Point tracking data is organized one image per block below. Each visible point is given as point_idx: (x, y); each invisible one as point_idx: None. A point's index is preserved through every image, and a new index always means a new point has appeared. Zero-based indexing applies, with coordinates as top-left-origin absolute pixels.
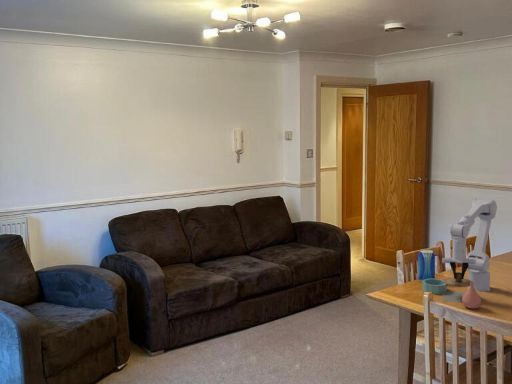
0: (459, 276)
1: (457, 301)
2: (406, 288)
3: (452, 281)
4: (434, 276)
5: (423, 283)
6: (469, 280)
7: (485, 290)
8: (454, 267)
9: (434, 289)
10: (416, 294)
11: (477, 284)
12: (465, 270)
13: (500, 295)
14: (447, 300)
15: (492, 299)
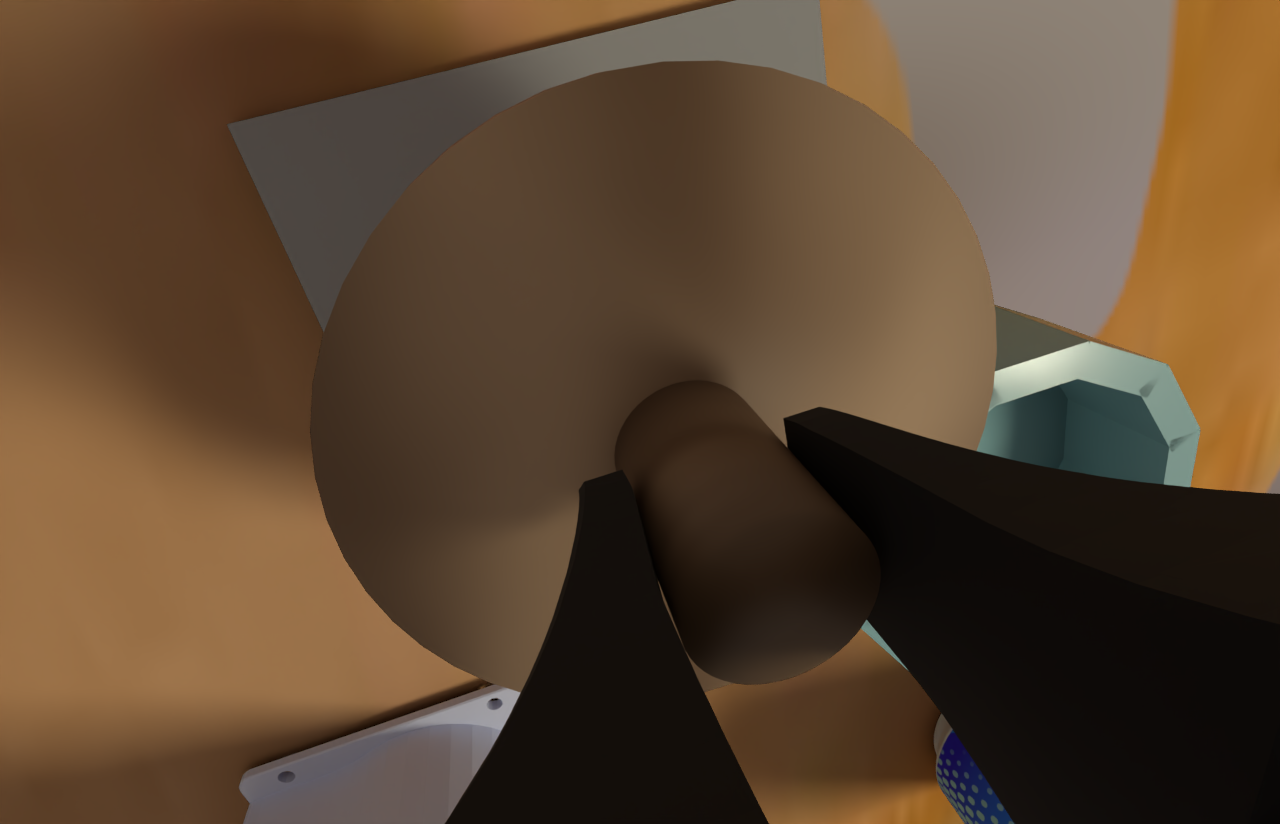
0: (715, 470)
1: (585, 69)
2: (1240, 390)
3: (828, 367)
4: (971, 788)
5: (1182, 410)
6: (453, 644)
7: (298, 763)
8: (1238, 558)
9: (997, 331)
10: (1168, 205)
11: (402, 806)
12: (542, 694)
13: (40, 721)
14: (755, 54)
15: (71, 502)
